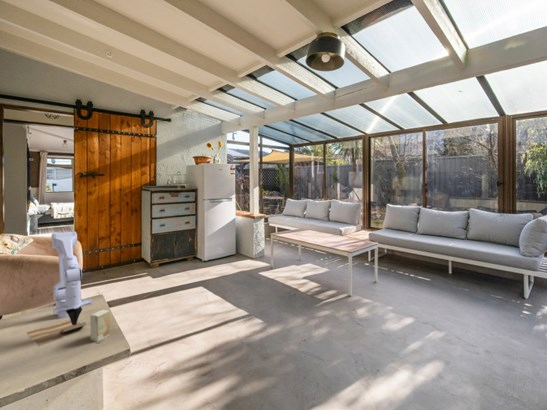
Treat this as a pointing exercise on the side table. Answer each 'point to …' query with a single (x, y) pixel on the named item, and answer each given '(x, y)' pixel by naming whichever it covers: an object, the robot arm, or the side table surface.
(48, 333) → the laid oak row
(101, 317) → the skincare box
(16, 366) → the side table surface
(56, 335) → the plank
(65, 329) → the plank
